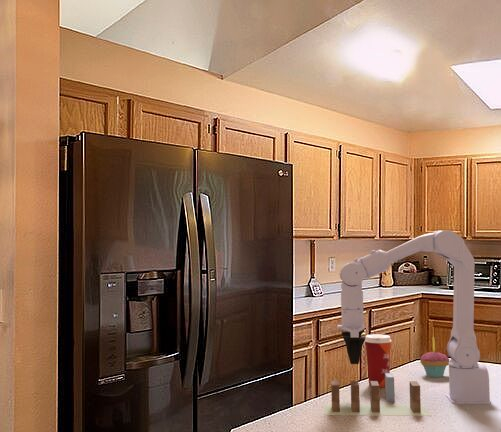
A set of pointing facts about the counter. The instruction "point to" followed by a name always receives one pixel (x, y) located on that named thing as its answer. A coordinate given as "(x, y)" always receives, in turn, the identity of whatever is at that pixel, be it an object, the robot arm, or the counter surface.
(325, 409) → the mat
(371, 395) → the tile
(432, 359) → the cupcake
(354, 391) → the tile
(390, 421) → the counter surface
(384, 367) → the paper cup
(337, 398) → the tile
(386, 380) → the tile
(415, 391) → the tile
